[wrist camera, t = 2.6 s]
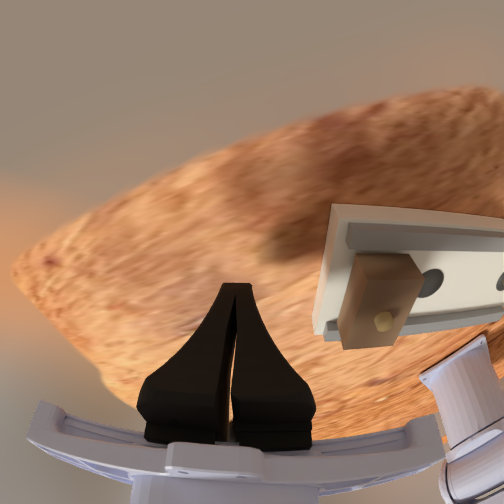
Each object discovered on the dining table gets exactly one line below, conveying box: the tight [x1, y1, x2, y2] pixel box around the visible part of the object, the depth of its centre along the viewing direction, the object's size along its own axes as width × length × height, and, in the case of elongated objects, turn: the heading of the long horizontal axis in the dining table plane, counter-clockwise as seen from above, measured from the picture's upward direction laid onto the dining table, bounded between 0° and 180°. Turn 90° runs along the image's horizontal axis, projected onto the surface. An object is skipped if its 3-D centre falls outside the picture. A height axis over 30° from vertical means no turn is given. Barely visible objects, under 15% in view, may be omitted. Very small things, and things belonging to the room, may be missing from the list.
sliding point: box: [337, 253, 425, 350], centre depth 14 cm, size 3×5×2 cm, turn 0°
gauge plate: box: [312, 203, 504, 342], centre depth 14 cm, size 16×8×4 cm, turn 90°
